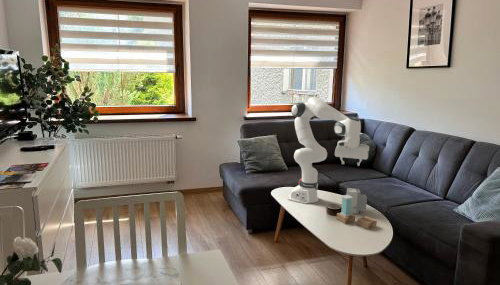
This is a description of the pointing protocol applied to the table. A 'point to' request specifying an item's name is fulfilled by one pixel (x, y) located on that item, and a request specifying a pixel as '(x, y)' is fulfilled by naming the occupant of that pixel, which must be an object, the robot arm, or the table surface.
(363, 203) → the circuit breaker
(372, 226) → the stand
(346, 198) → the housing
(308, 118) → the robot arm
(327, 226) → the table surface
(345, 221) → the stand
